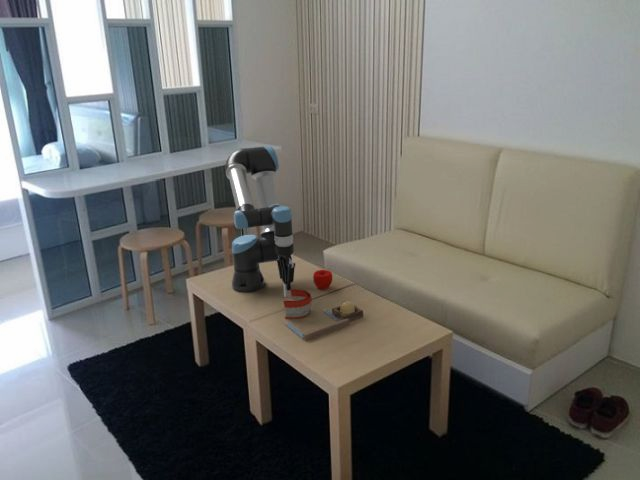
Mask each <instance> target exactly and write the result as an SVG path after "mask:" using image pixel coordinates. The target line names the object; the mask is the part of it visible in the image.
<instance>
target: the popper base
mask: <svg viewBox="0 0 640 480" xmlns="http://www.w3.org/2000/svg"><path fill="white" fill-rule="evenodd" d="M340 306H341V305H339V306H336V307H333V308H331V312H332V315H334V316H335V317H337V318H338V319H340V320H343V319H346V318H347V319H349V323H351V322H355V321H357V320H359V319H362V318H364V310H363V309H362V308H360V307H358V306H356V305H354V307H355V312H353V313H350V314H347V315H345V314H343V313H342V312H340Z"/></svg>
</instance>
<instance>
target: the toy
mask: <svg viewBox="0 0 640 480" xmlns="http://www.w3.org/2000/svg"><path fill="white" fill-rule="evenodd" d="M290 291H291V296H290V297H291V300H283V305H284V306H283V307H284V314H285V316H284V319H285V320H299V319H302V318H305V317H307V316H308V315H309V314H310V313H311V308H312V306H313V304H312V303H313V298H312V295H311V293H310V292H309V291H307V290H303V289H293V288H291V289H290Z"/></svg>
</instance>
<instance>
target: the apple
mask: <svg viewBox="0 0 640 480" xmlns="http://www.w3.org/2000/svg"><path fill="white" fill-rule="evenodd" d="M312 275H313V276H312V279H313V283H314V285H315V287H316V288H317V289H318V290H320V291H324V290H327V289H329V287H330V286H331V284H332V282H333V273H332V272H331V271H330V270H327V269H319V270H316V271H315V272H314V273H313V274H312Z"/></svg>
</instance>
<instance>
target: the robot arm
mask: <svg viewBox="0 0 640 480" xmlns="http://www.w3.org/2000/svg"><path fill="white" fill-rule="evenodd" d="M279 167H280V165H279V160H278V156H277V152H276V150H275V149H274V148H273V147H272V146H265V145H264V146H257V147H247V148H246V147H245V148H238V149H236V150H235V151H233V152H232V153H231V154H230V155H229V156H228V158H227V159H226V163H225V166H224V171H225V173H224V174H225V176H226V178H227V179H228V180H229V183H230V188H231V190H232V191H231V192H232V196H233V201H234V204H235V208H236V210H235V211H234V212H233V222H234V226H235V228H236V229H248V228H257V227H262V231H261V232H260V234H259V235H260V237H258V236H257V235H255V234H245V235H241V236H239V237H236V238H235V239H233V241H232V244H231V253H232V259H233V260H232V261H233V275H232V280H231V287H232V289H233V290H234V291H237V292H240V293H241V292H242V293H249V292H254V291H257V290H260V289H262V288H263V287H265V284H266V282H265V278H264V275H263V273H262V271H261V268H260V264H264V263H265V264H266V263H271V262H277V263H276V265H277V268H278V269H277V270H278V274H279V279H280V280H281V281H282V283H283V296H284V297H285V298H288V297H289V298H290V297H292V296H291V291H290V289H292V284H291V283H294V278H295V268H296V263H295V262H293V257H292V254H293V253H294V252H295V251H294V249H295V248H294V244H293V243H294V236H293V235H294V234H293V222H292V221H293V219H292V218H293V215H292V210H291V208H290V207H289V206H286V205H281V204H279V203H278V196H277V192H276V185H275V184H276V183H275V176H276V175H277V171H279ZM247 174H251V178H252V179H253V180H255V184H256V185H255V186H256V192H257V198H258V206H259V207H258V208H255V205H254V201H253V196H252V193H251V191H250V190H251V189H250V186H249V183H248V182H249V181H248V179H247Z"/></svg>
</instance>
